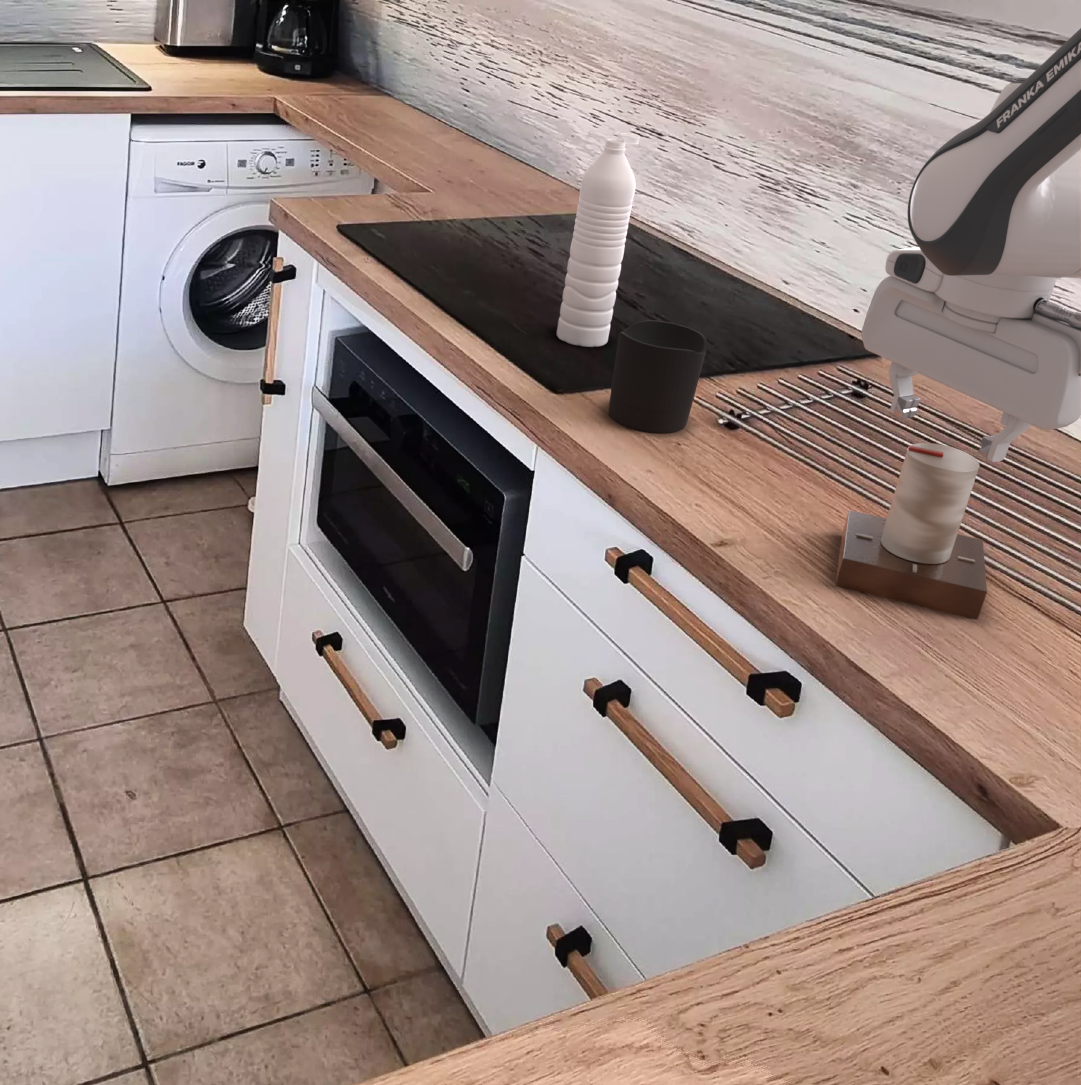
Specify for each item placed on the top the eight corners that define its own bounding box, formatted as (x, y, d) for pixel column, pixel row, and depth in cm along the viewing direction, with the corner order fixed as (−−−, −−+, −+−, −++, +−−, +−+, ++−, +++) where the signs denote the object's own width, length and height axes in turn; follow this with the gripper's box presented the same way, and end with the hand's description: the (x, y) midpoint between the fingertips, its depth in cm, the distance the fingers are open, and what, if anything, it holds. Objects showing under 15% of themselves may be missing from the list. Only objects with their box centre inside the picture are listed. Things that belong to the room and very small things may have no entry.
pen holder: (705, 435, 155) (724, 348, 150) (628, 439, 152) (646, 350, 147) (663, 402, 163) (680, 319, 158) (589, 405, 160) (605, 320, 155)
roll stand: (973, 568, 132) (983, 538, 130) (977, 621, 123) (987, 590, 121) (841, 537, 135) (849, 508, 134) (834, 588, 126) (843, 556, 124)
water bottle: (595, 352, 176) (631, 148, 165) (547, 339, 179) (580, 137, 167) (622, 335, 183) (658, 138, 171) (575, 323, 186) (608, 128, 174)
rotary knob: (949, 542, 129) (979, 448, 125) (950, 570, 124) (981, 473, 120) (881, 527, 131) (908, 434, 126) (879, 554, 126) (907, 458, 121)
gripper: (1132, 320, 110) (1072, 481, 116) (922, 243, 125) (879, 389, 131) (1082, 327, 107) (1024, 492, 113) (873, 247, 122) (831, 396, 128)
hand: (944, 436), depth 122 cm, fingers open, 8 cm apart
